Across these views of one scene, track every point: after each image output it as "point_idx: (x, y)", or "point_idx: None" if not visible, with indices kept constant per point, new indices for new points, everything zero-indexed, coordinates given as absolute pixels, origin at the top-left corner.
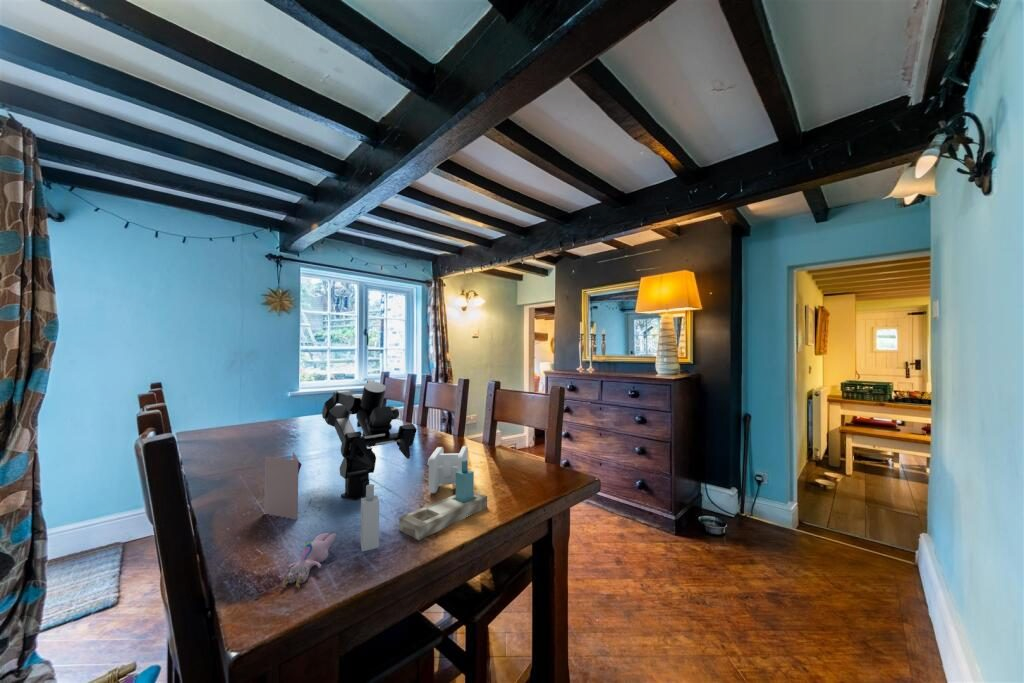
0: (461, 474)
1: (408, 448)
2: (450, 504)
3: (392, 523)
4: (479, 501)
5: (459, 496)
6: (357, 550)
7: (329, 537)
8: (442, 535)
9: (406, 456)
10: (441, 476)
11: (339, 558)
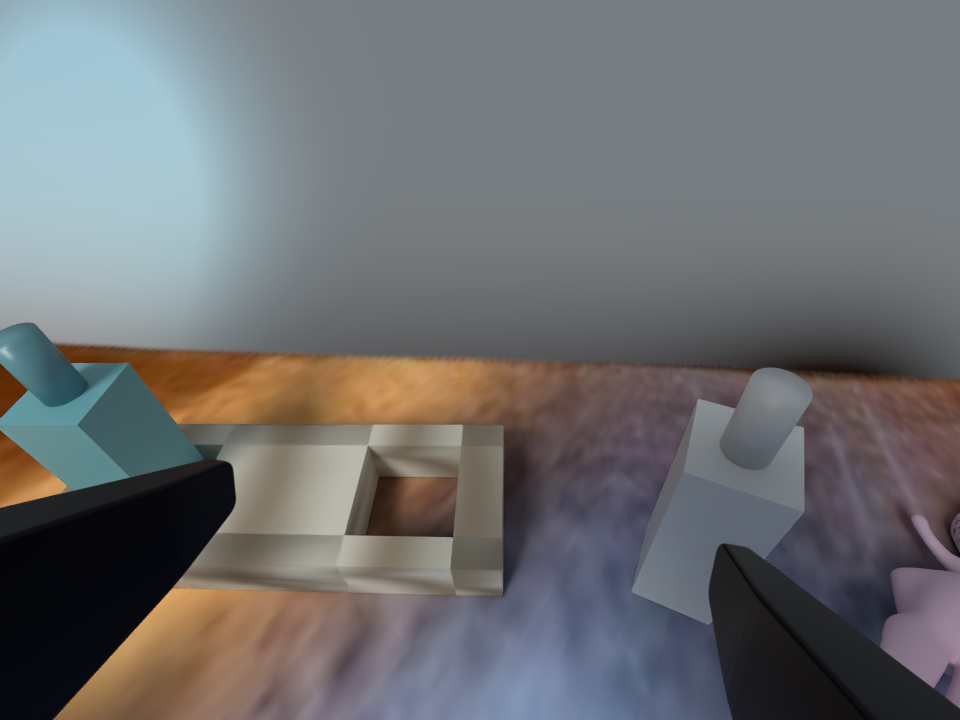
0: (114, 384)
1: (83, 494)
2: (253, 483)
3: (478, 707)
4: None
5: None
6: None
7: (921, 639)
8: None
9: (201, 533)
10: None
11: (819, 583)
